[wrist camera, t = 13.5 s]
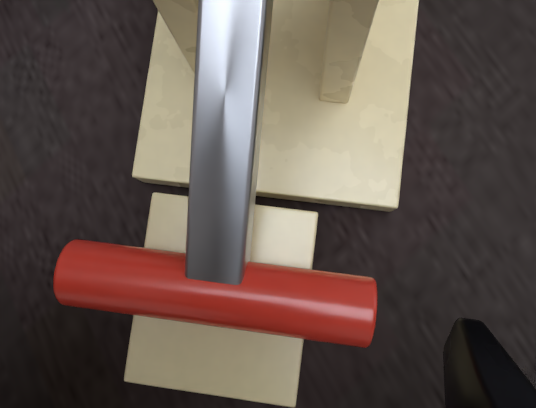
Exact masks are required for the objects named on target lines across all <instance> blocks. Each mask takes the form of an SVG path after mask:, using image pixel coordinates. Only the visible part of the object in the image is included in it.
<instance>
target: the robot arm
mask: <svg viewBox="0 0 536 408" xmlns="http://www.w3.org/2000/svg"><path fill="white" fill-rule="evenodd" d="M443 362H444V384H445V405H446V408H536V389H535V388H534V386H533V385H532V384H531V382H530V381H529V380H528V379H527V377H526V376H525V375H524V374H523V372H522V371H521V370H520V368H519V367H518V366H517V365H516V363H515V362H514V361H513V360H512V358H511V357H510V356H509V355H508V353H507V352H506V351H505V349H504V348H503V347H502V346H501V344H500V343H499V342H498V341H497V339H496V338H495V337H494V335H493V334H492V333H491V332H490V330H489V329H488V328H487V327H486V325H485V324H484V323H483V322H481V321H479V320H474V319H467V318H458V319H457V320H456V321H455V323H454V325H453V327H452V330H451V332H450V334H449V336H448V338H447V341H446V343H445V346H444V352H443Z"/></svg>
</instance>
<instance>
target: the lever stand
mask: <svg viewBox="0 0 536 408" xmlns="http://www.w3.org/2000/svg"><path fill="white" fill-rule="evenodd" d="M198 1H199V0H153V2H154V4H155V6H156V7H157V9H158V14H157V21H156V27H155V33H154V40H153V46H152V52H151V58H150V65H149V71H148V77H147V84H146V90H145V96H144V102H143V109H142V115H141V121H140V128H139V134H138V140H137V146H136V153H135V159H134V165H133V171H132V177H134V178H136V179H138V180H140V181H142V182H144V183H153V184H161V185H170V186H178V187H186V188H189V177H190V158H191V138H192V119H193V99H194V79H195V60H196V40H197V21H198ZM418 4H419V0H273V10H272V21H271V32H270V43H269V54H268V65H267V76H266V87H265V99H264V110H263V121H262V132H261V143H260V154H259V165H258V176H257V187H256V196H262V197H270V198H279V199H287V200H296V201H304V202H312V203H321V204H329V205H338V206H346V207H354V208H363V209H371V210H380V211H388V212H390V211H393V210H395V209H397V208H398V204H399V194H400V184H401V174H402V164H403V154H404V144H405V134H406V124H407V114H408V104H409V94H410V84H411V74H412V64H413V54H414V44H415V34H416V24H417V14H418Z"/></svg>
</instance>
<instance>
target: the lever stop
mask: <svg viewBox="0 0 536 408" xmlns="http://www.w3.org/2000/svg"><path fill="white" fill-rule="evenodd" d="M188 197H189V196H181V195H173V194H164V193H156V192H155V193H153V194H152V198H151V205H150V211H149V218H148V224H147V231H146V237H145V244H144V248H151V249H159V250H167V251H174V252H182V253H186V236H187V217H188ZM317 221H318V213H317V212H314V211H305V210H297V209H289V208H280V207H272V206H264V205H256V204H255V210H254V221H253V232H252V243H251V254H250V261H251V262H259V263H266V264H274V265H282V266H290V267H297V268H305V269H312V264H313V255H314V247H315V238H316V230H317ZM303 341H304V339H299V338H292V337H285V336H278V335H271V334H264V333H257V332H250V331H242V330H235V329H228V328H221V327H214V326H207V325H200V324H193V323H186V322H179V321H172V320H165V319H158V318H151V317H144V316H137V315H133V322H132V328H131V335H130V341H129V348H128V354H127V361H126V367H125V374H124V381H125V382H130V383H136V384H143V385H149V386H156V387H162V388H169V389H175V390H182V391H188V392H195V393H201V394H208V395H214V396H221V397H227V398H234V399H241V400H247V401H254V402H260V403H267V404H273V405H280V406H286V407H295V406H296V400H297V392H298V383H299V375H300V366H301V358H302V349H303Z"/></svg>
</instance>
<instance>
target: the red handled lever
mask: <svg viewBox="0 0 536 408" xmlns="http://www.w3.org/2000/svg"><path fill="white" fill-rule="evenodd" d="M272 10H273V0H199V1H198V21H197V40H196V60H195V79H194V99H193V119H192V138H191V158H190V177H189V197H188V217H187V236H186V253H182V252H174V251H167V250H159V249H151V248H143V247H136V246H128V245H120V244H113V243H105V242H97V241H90V240H82V239H75V240H72V241H70V242H69V243H68V244H67V245H66V246H65V247H64V248H63V250H62V252H61V253H60V255H59V258H58V260H57V263H56V267H55V272H54V280H53V287H54V294H55V297H56V299H57V300H58V302H60V303H61V304H63V305H66V306H73V307H80V308H87V309H94V310H101V311H108V312H115V313H122V314H130V315H137V316H144V317H151V318H158V319H165V320H172V321H179V322H186V323H193V324H200V325H207V326H214V327H221V328H228V329H235V330H242V331H250V332H257V333H264V334H271V335H278V336H285V337H292V338H299V339H306V340H313V341H320V342H327V343H334V344H341V345H348V346H355V347H362V348H366V347H369V345H370V343H371V341H372V338H373V335H374V330H375V324H376V316H377V285H376V281H375V279H374V278H372V277H366V276H359V275H351V274H343V273H336V272H328V271H320V270H313V269H305V268H297V267H290V266H282V265H274V264H266V263H259V262H251V261H250V254H251V243H252V232H253V221H254V210H255V199H256V187H257V176H258V165H259V154H260V143H261V132H262V121H263V110H264V99H265V87H266V76H267V65H268V54H269V43H270V32H271V21H272Z"/></svg>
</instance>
